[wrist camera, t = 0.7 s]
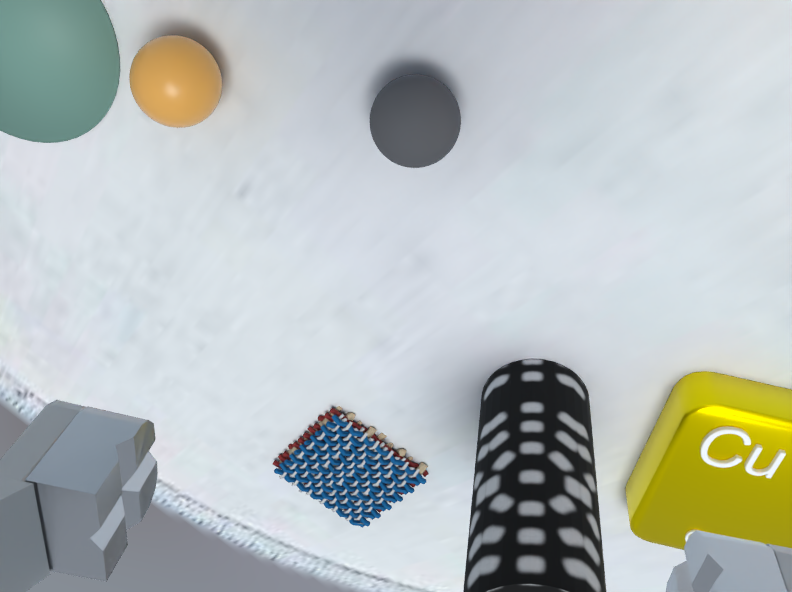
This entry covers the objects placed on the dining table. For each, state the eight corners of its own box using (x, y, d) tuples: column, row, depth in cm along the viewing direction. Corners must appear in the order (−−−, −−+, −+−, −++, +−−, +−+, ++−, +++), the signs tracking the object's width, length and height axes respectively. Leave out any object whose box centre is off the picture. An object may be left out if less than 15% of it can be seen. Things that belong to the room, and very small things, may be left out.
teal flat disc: (-110, -93, 46) (-112, -93, 46) (109, -60, 46) (107, -59, 45) (-59, 124, 54) (-61, 125, 54) (128, 156, 53) (127, 157, 53)
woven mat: (337, 394, 63) (332, 410, 61) (434, 463, 66) (431, 480, 64) (270, 456, 68) (264, 473, 67) (362, 518, 71) (358, 535, 69)
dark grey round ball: (382, 56, 47) (366, 83, 42) (470, 70, 46) (463, 99, 42) (374, 140, 50) (358, 173, 45) (456, 154, 49) (448, 189, 45)
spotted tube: (589, 357, 56) (610, 587, 40) (589, 440, 61) (609, 678, 44) (477, 359, 58) (453, 580, 42) (485, 440, 62) (467, 669, 46)
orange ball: (149, 19, 48) (108, 41, 43) (233, 32, 47) (201, 56, 43) (155, 103, 51) (117, 132, 46) (234, 116, 50) (204, 147, 46)
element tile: (617, 497, 64) (622, 542, 60) (683, 361, 56) (694, 404, 52) (793, 538, 64) (810, 586, 60) (886, 407, 55) (913, 453, 51)
